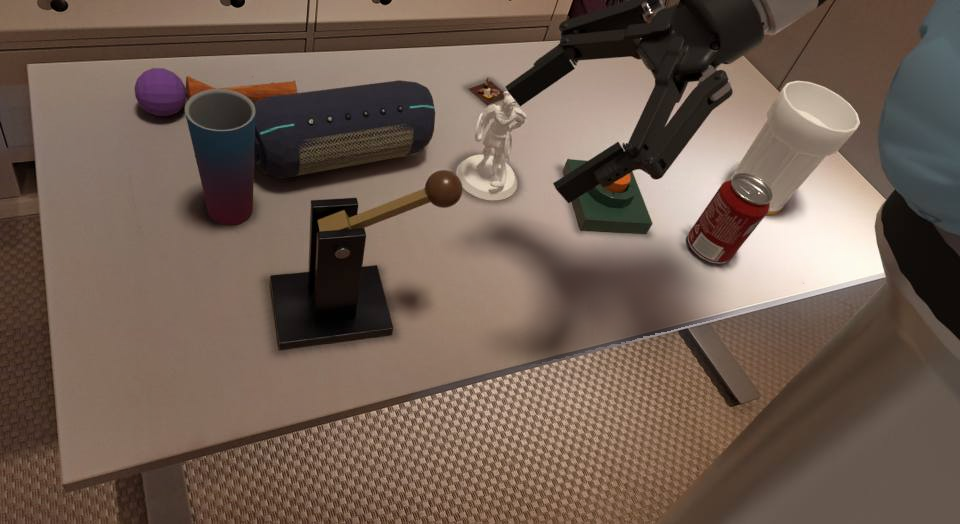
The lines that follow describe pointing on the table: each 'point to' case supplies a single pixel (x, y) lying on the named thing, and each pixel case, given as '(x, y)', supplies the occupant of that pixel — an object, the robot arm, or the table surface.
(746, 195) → the soda can
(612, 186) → the button
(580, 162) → the button box
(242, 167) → the cup
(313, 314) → the switch bracket
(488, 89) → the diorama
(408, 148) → the portable speaker
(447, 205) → the switch lever
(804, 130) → the cup
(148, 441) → the table surface
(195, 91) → the kendama
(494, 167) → the figurine
